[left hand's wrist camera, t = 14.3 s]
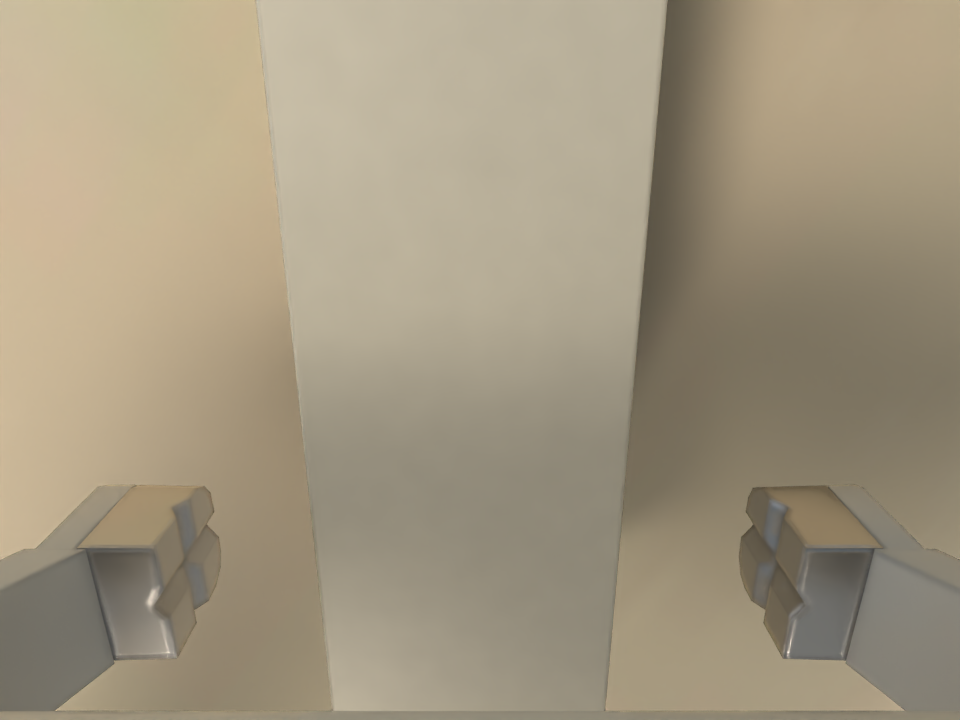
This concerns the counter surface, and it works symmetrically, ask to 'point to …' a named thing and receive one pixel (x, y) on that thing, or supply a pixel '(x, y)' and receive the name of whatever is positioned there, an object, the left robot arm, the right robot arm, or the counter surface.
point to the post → (464, 331)
